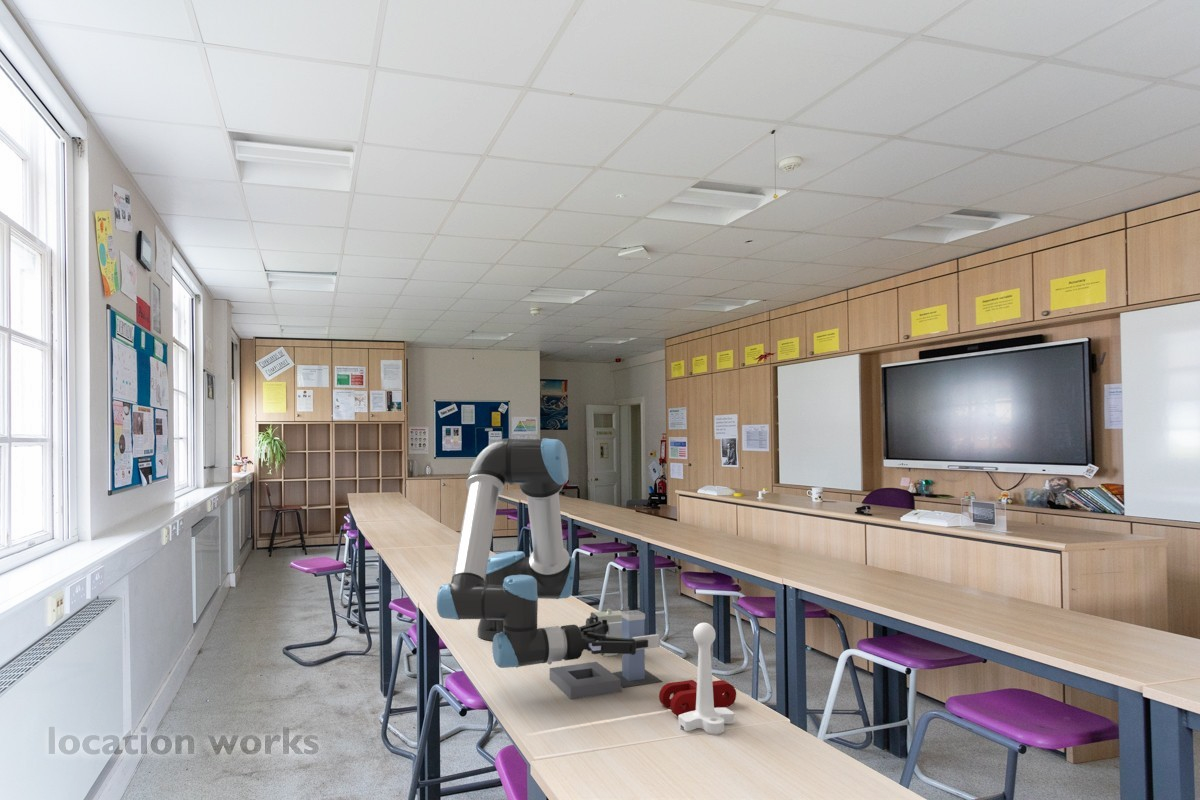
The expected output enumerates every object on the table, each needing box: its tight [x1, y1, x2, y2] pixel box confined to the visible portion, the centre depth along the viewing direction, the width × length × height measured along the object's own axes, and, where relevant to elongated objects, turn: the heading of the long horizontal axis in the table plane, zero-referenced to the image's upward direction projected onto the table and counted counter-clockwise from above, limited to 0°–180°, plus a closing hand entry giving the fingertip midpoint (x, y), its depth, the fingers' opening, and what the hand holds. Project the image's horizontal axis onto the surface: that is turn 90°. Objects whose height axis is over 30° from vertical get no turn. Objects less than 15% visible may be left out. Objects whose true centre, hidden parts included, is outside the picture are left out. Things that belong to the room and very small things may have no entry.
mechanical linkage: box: [658, 679, 737, 718], centre depth 151 cm, size 16×7×5 cm, turn 111°
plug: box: [621, 609, 646, 681], centre depth 169 cm, size 4×4×15 cm
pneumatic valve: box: [585, 608, 624, 657], centre depth 188 cm, size 6×12×12 cm, turn 107°
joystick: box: [677, 622, 735, 735], centre depth 141 cm, size 11×8×20 cm
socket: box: [549, 661, 622, 700], centre depth 164 cm, size 14×12×3 cm
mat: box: [612, 669, 663, 689], centre depth 169 cm, size 10×10×1 cm
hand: (645, 633), depth 171 cm, fingers open, 13 cm apart
